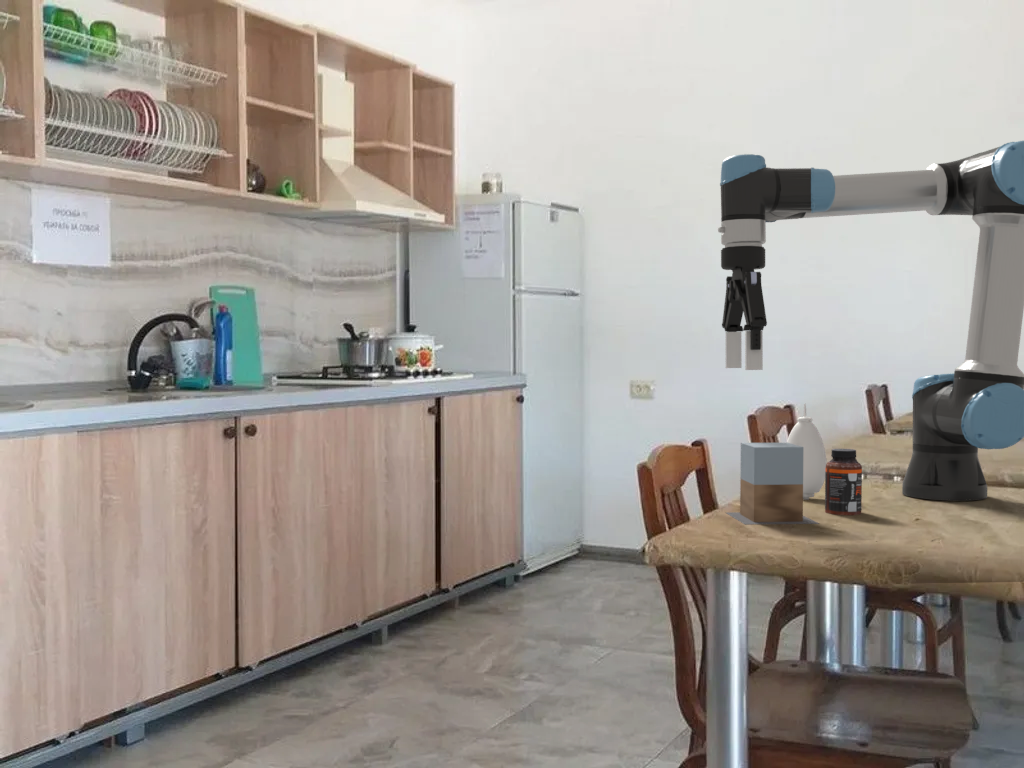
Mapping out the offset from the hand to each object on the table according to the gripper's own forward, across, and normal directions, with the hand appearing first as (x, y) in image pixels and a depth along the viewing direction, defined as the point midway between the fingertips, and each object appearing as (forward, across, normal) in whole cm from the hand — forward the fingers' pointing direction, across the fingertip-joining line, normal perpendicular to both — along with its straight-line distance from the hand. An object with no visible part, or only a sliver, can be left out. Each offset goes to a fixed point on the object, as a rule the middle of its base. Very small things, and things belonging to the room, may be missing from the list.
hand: (743, 369), depth 189 cm
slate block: (+18, +12, +2) cm, 22 cm away
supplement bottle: (+25, +6, +15) cm, 30 cm away
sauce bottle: (+25, -14, +15) cm, 32 cm away
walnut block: (+24, +12, +2) cm, 27 cm away
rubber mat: (+25, +12, +2) cm, 27 cm away
